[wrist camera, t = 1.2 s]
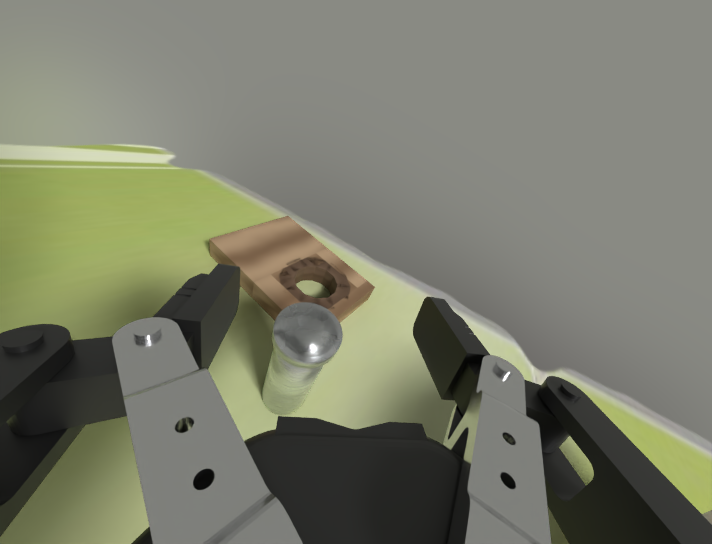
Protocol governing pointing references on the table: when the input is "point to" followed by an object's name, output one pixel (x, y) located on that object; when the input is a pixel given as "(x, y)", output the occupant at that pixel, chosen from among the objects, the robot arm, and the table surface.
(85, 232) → the table surface
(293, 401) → the silver metal peg
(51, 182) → the table surface
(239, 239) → the block
